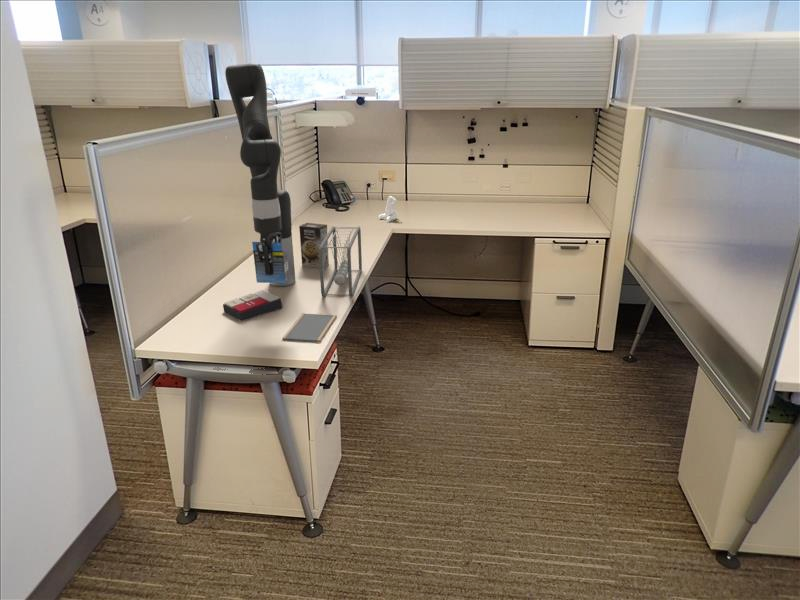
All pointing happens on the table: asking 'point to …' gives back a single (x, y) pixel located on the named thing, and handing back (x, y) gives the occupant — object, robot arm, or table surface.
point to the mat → (309, 328)
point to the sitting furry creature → (389, 210)
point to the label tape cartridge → (278, 265)
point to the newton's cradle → (344, 265)
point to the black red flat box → (252, 305)
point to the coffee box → (313, 244)
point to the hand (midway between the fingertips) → (272, 272)
